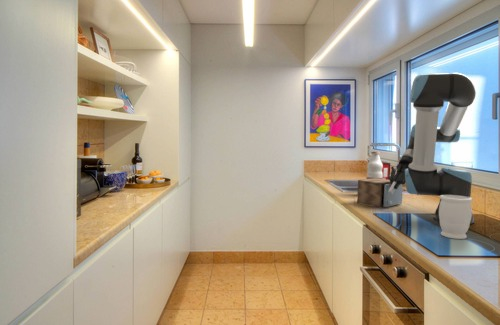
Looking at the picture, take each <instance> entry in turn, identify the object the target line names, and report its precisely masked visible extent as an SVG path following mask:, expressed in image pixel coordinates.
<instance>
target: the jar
mask: <svg viewBox="0 0 500 325" xmlns="http://www.w3.org/2000/svg"><path fill="white" fill-rule="evenodd" d="M440 199H441V202H440V201H439V202H440V206H439V219H440V220H439V226H440V228H441V232H440V235H441V236H443V237H445V238H449V239H454V240H465V239H467V238H468V236H467V234H466V233H467V232H468V231H469V229H470V225H471V224H470V221H471V217H472V213H473V210H472V204H471V203H472V202H473V199H474V198H472V197H466V196H459V195H440V196H439V200H440Z"/></svg>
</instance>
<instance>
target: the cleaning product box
mask: <svg viewBox="0 0 500 325" xmlns="http://www.w3.org/2000/svg"><path fill="white" fill-rule="evenodd" d="M369 161H370V160H369ZM369 161H368V162H369ZM368 162H367V163H368ZM381 162H382V164H383V168H382V173H383V179H387V180H389V179H390V175H391V162H387V161H381Z"/></svg>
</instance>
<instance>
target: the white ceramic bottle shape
mask: <svg viewBox="0 0 500 325" xmlns="http://www.w3.org/2000/svg"><path fill="white" fill-rule="evenodd" d="M370 153H371V157H370V158H369V162H367V165H366V167H367V171H366V179H372V178H379V179H383V173H382V168H383V164H382V162H383V161H382V160H381V157H380V154H381V152H380V151H370Z"/></svg>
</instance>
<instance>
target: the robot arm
mask: <svg viewBox="0 0 500 325" xmlns="http://www.w3.org/2000/svg"><path fill="white" fill-rule="evenodd" d="M476 91H477V90H476V86H475V84H474V83H473V81H472V79H470V78H469V77H468V76H466V75H465V74H462V73H459V72H451V73H449V72H448V73H447V72H446V73H445V72H443V73H426V74H425V73H424V74H418V75H416V76H415V77H414V79H413V82H412V84H411V90H410V96H409V102H410V103H412V107H413V108H414V109H415V110H416V115H415V116H416V117H415V124H413V126H412V127H411V130H410V136H409V139H408V140H409V141H408V146H407V147H406V149H405V151H404V152H403V153H402V156H401V157H400V160H399V161H398V163H397V165H396V166H390V179H389V180H390V182H391V185H390V189H389V191H388V192H389V193H390V195H393V193H394V191H395V190H396V189H398V187H399V185H400V184H402V185H403V186H404V185H405V188H406V191H407V193H408V194H411V195H416V196H418V195H419V196H435V197H436V196H437V197H440V195H459V196H466V197H470V198H472V197H471V196H472V183H473V181H472V178H473V177H472V173H471V172H470V171H468V170H464V169H460V168H459V169H458V168H452V167H445V166H443V167H441V169H440V170H439V169H438V166H437V165H436V164H435V155H436V144H437V143H450V144H451V143H458V142H459V141H460V137H461V130H460V128H459V126H460V124H461V123H462V120H463V119H464V117H465V114H466V112H467V110H468V107H470V106H471V105H472V104H473V103H474V101H475V98H476V94H477V92H476ZM447 102H448V104H447V107H446V108H445V113H444V115H443V118H442V120H441V124H440V126H438V125H439V113H440V110H441V109H442V108H443V107H444V105H445V103H447ZM440 202H441V199H440V198H439V202H438V204H437V207H436V209H435V211H434V219H435V220H438V221H440V219H439V206H440ZM474 217H475V216H474V213H473V212H472V217H471V221H470V225H471V224H473V223H474V222H475V218H474Z"/></svg>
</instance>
